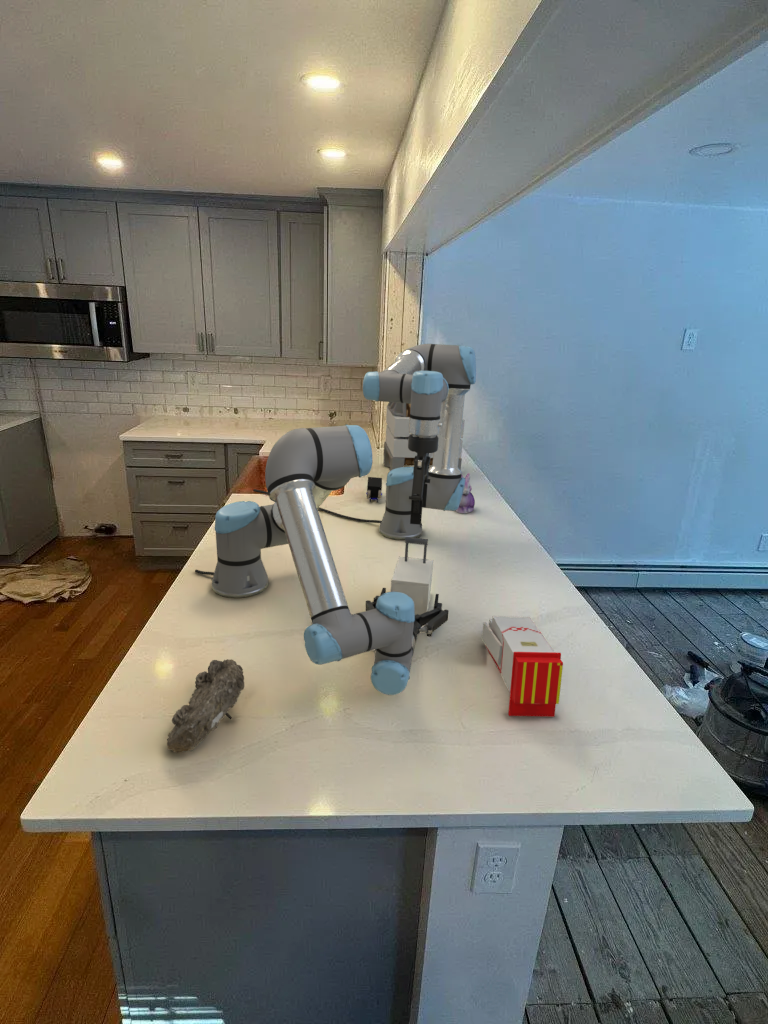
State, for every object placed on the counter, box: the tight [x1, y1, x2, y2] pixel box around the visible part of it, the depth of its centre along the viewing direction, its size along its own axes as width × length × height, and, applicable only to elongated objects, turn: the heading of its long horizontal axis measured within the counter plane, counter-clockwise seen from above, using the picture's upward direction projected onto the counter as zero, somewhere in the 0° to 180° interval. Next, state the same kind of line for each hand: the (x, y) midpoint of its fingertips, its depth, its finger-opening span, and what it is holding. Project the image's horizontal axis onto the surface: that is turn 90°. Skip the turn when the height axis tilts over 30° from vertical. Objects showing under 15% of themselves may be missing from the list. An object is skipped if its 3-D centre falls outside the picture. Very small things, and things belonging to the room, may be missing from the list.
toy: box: [481, 615, 564, 718], centre depth 123 cm, size 12×13×30 cm
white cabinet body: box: [390, 565, 434, 615], centre depth 151 cm, size 14×10×10 cm
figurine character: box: [365, 476, 383, 503], centre depth 234 cm, size 7×8×15 cm
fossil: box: [166, 658, 245, 754], centre depth 106 cm, size 22×10×15 cm
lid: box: [390, 537, 434, 587], centre depth 148 cm, size 15×10×8 cm, turn 171°
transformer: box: [383, 402, 465, 472], centre depth 268 cm, size 34×33×41 cm
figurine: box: [455, 472, 476, 514], centre depth 224 cm, size 9×10×15 cm
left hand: (410, 595), depth 145 cm, fingers open, 13 cm apart
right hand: (418, 514), depth 149 cm, fingers open, 13 cm apart
